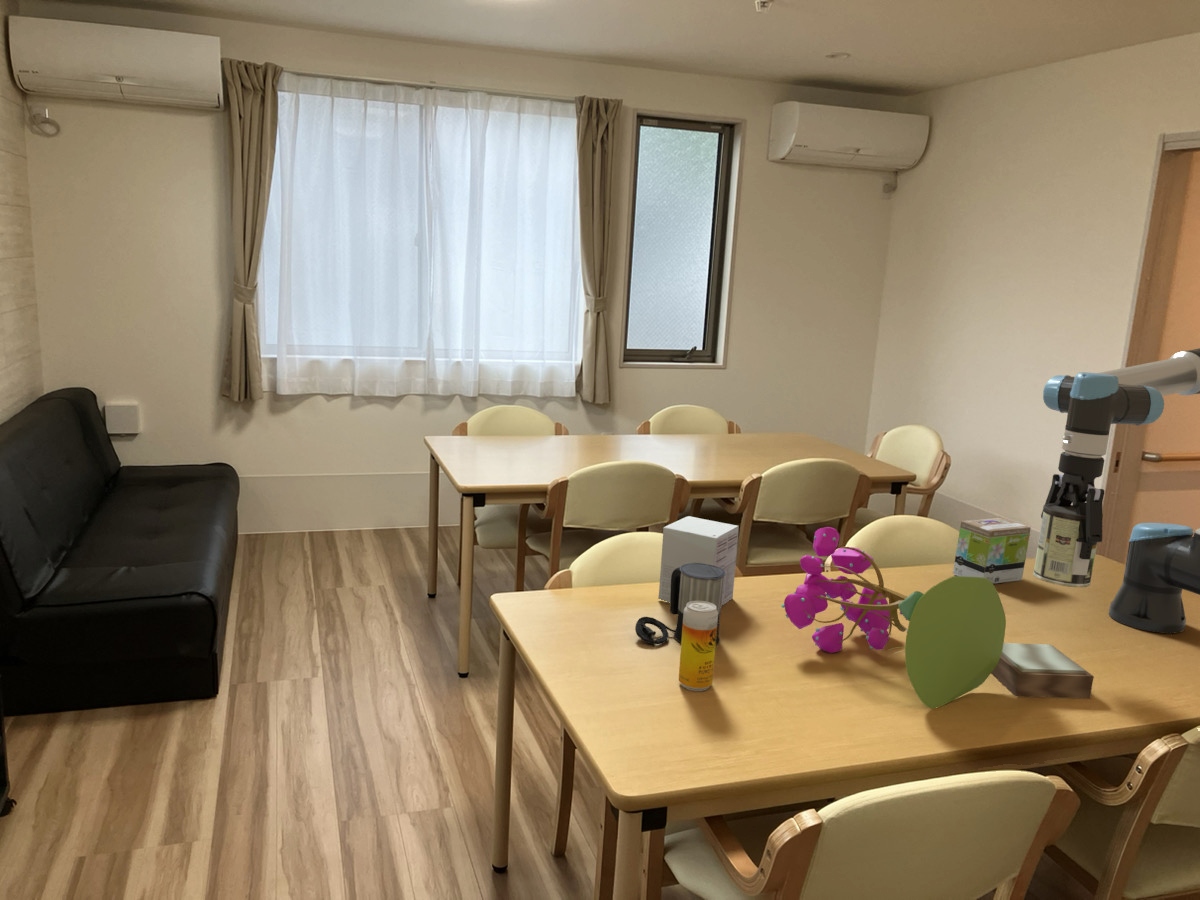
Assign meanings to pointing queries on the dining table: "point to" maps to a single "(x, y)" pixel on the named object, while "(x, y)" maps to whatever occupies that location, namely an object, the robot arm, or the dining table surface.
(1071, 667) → the tray
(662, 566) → the supplement box
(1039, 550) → the coffee can
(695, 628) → the beer can
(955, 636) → the magenta flower sprig
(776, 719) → the dining table surface
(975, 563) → the tea box
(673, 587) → the milk frother
